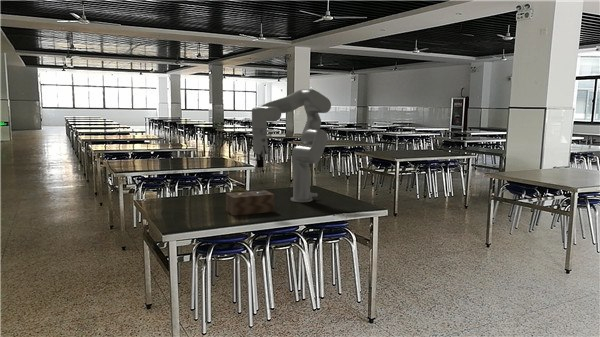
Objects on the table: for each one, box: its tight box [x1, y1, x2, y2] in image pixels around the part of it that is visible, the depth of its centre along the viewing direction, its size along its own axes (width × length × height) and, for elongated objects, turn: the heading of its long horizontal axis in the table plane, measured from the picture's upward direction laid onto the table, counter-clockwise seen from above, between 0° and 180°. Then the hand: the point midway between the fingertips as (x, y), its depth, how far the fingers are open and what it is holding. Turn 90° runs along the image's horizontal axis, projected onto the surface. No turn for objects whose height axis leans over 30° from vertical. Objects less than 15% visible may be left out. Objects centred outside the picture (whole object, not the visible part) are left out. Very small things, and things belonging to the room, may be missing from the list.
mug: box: [229, 188, 249, 193], centre depth 251 cm, size 12×10×10 cm
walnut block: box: [225, 189, 275, 216], centre depth 234 cm, size 22×12×9 cm, turn 116°
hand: (260, 167), depth 236 cm, fingers closed
